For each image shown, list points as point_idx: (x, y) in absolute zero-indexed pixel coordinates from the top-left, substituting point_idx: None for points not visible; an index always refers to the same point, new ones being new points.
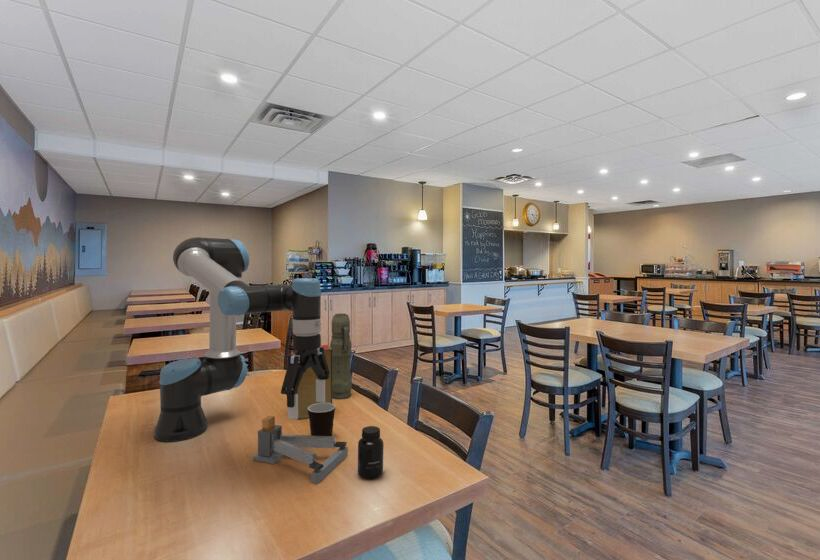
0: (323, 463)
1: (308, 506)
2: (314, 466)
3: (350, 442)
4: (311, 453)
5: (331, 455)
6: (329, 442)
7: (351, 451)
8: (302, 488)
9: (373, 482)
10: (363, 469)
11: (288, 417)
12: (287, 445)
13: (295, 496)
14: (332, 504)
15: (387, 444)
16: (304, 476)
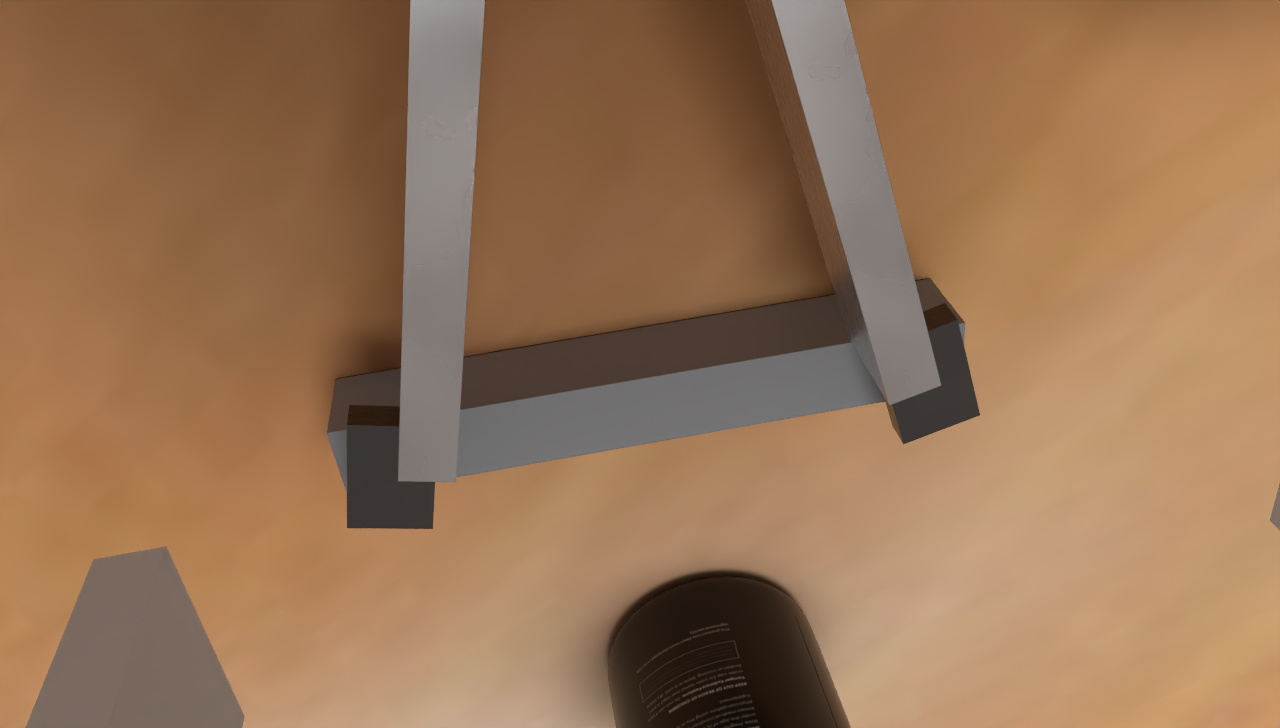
0: (548, 404)
1: (63, 578)
2: (348, 491)
3: (1211, 193)
4: (420, 446)
5: (729, 367)
6: (855, 326)
7: (1013, 322)
8: (210, 380)
9: (607, 716)
10: (617, 720)
11: (100, 589)
12: (413, 6)
13: (77, 415)
14: None
15: (1223, 501)
16: (378, 253)
